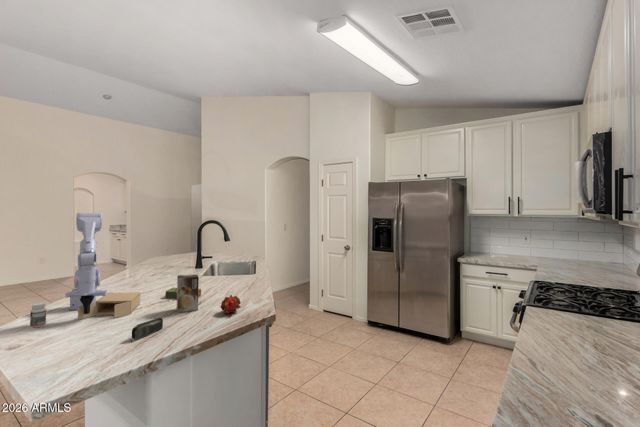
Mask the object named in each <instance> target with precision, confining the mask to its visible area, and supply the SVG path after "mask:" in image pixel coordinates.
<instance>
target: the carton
mask: <svg viewBox="0 0 640 427" xmlns="http://www.w3.org/2000/svg"><path fill="white" fill-rule="evenodd" d="M164 294H165V296H164V297H165V299H175V300H177V287H171V288H170V289H168V290H166V291H165V293H164ZM201 296H202V289H201V288H198V298H200V297H201Z"/></svg>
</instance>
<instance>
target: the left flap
mask: <svg viewBox="0 0 640 427" xmlns="http://www.w3.org/2000/svg"><path fill="white" fill-rule="evenodd" d="M92 316H96V315H95V303H91V304H90V313H89V314H84V306H83V305H82V306H78V310H77V320H83V319H87V318H89V317H92Z"/></svg>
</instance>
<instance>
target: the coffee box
mask: <svg viewBox="0 0 640 427" xmlns="http://www.w3.org/2000/svg"><path fill="white" fill-rule="evenodd" d="M199 279H200V278H199V275H198V274H196V273H195V274H180V275H177V287H176V288H177V299H176V311H177V313H181V312H192V311H193V312H194V311H199V297H198V289H199V281H200V280H199Z"/></svg>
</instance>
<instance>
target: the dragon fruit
mask: <svg viewBox="0 0 640 427" xmlns="http://www.w3.org/2000/svg"><path fill="white" fill-rule="evenodd" d="M241 303H242V302H241V301H240V298H239V297H238V296H237V295H234V296H233V295H232V294H229V296H225V298H224V299H223V300H222V301H221V304H220V309H221V311H222V312H223V314H224V315H225V314H227V315H228V314H229V313H232V314H235V313H236V312H237V309H240V308H241Z"/></svg>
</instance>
